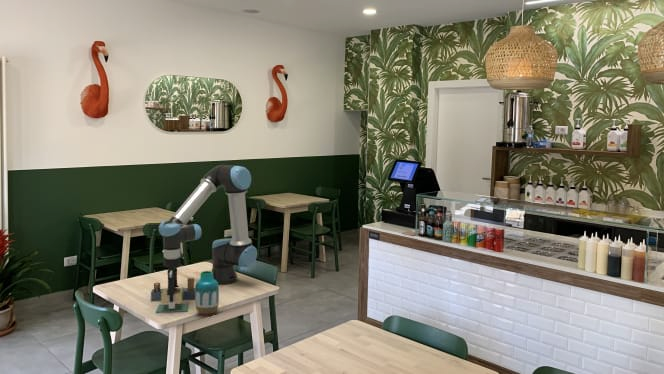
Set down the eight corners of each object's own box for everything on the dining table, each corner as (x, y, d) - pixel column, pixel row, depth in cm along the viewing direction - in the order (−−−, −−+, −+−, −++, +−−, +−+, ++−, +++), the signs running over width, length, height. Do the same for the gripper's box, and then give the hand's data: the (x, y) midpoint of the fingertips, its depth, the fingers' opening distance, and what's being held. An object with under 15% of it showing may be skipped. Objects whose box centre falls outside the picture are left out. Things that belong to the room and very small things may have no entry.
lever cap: (183, 296, 251) (183, 286, 251) (181, 303, 243) (181, 291, 242) (163, 297, 250) (163, 286, 249) (161, 303, 242) (161, 292, 241)
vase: (190, 313, 240) (189, 272, 238) (207, 307, 249) (207, 267, 247) (206, 319, 235) (206, 277, 232) (223, 312, 243) (223, 271, 241)
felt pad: (189, 304, 253) (189, 303, 253) (187, 311, 243) (187, 310, 243) (158, 305, 251) (158, 304, 250) (155, 313, 241) (155, 311, 241)
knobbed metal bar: (196, 296, 265) (196, 276, 264) (195, 299, 260) (195, 279, 259) (152, 298, 261) (152, 278, 260) (151, 301, 256) (150, 281, 255)
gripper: (166, 252, 254) (167, 297, 256) (160, 263, 233) (161, 313, 236) (182, 251, 255) (183, 297, 258) (178, 263, 234) (178, 312, 237)
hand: (173, 304), depth 247 cm, fingers closed on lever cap, 8 cm apart
